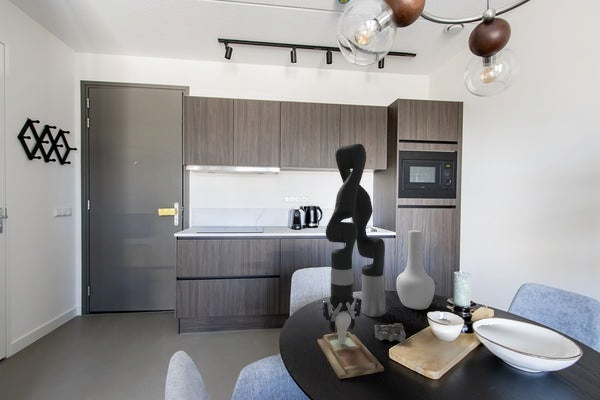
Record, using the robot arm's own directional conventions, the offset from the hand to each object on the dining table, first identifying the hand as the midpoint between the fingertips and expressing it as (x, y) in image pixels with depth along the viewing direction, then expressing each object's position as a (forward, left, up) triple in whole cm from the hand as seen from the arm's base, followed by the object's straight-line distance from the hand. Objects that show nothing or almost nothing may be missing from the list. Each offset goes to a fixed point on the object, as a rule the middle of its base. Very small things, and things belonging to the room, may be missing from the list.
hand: (341, 329), depth 92 cm
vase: (-48, -25, -6) cm, 54 cm away
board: (0, +5, -6) cm, 8 cm away
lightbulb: (0, 0, -4) cm, 4 cm away
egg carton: (-20, -2, -6) cm, 21 cm away
